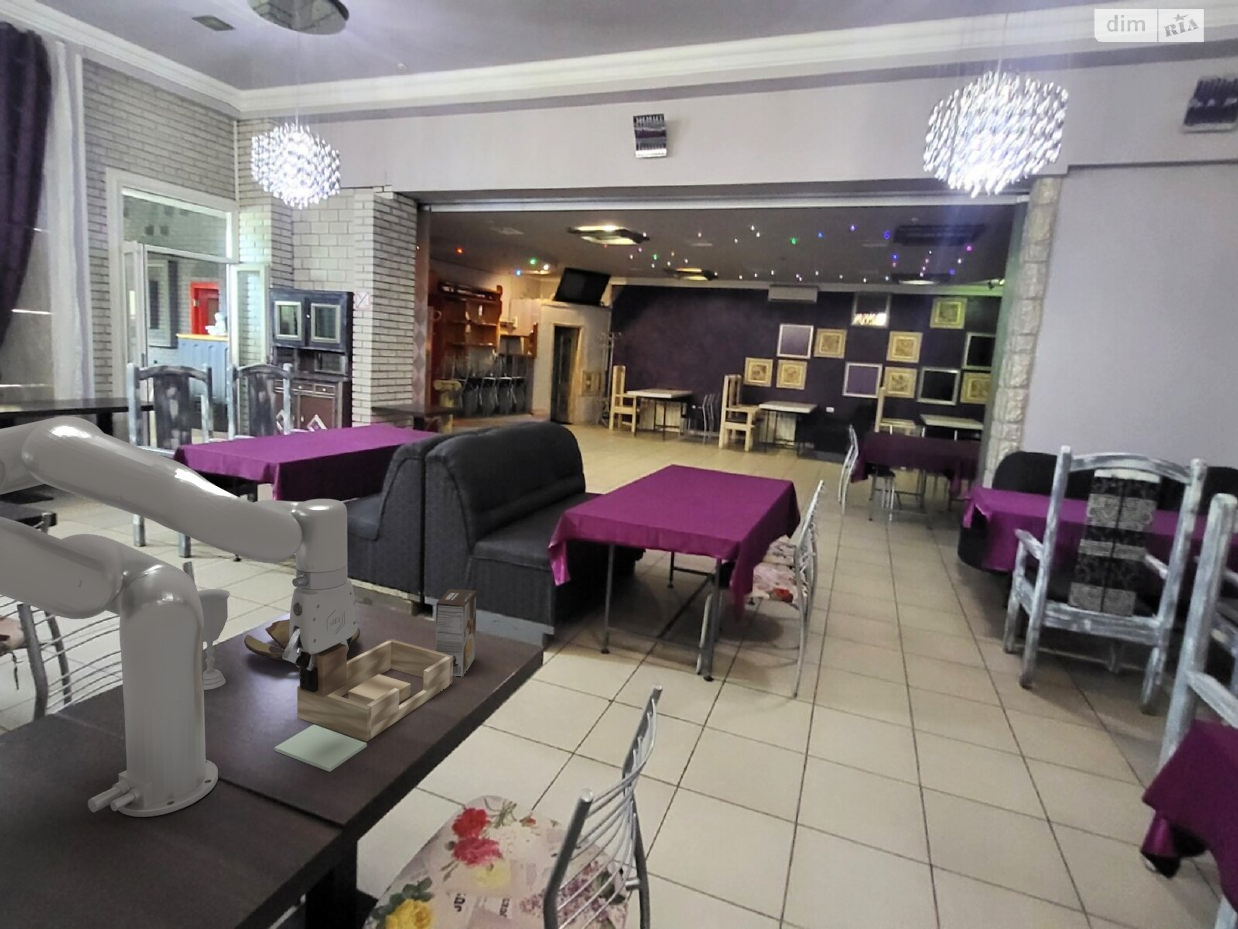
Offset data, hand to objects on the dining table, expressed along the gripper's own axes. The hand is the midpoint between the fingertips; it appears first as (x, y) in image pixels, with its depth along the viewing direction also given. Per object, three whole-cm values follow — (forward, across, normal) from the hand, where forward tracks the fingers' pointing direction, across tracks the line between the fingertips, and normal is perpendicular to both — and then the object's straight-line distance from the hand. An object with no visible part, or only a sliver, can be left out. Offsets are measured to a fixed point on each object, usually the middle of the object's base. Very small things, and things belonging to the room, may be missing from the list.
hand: (323, 681), depth 108 cm
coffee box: (+13, +35, -1) cm, 37 cm away
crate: (+12, +17, +3) cm, 21 cm away
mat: (+12, 0, 0) cm, 12 cm away
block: (+1, 0, 0) cm, 1 cm away
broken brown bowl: (+12, +27, +31) cm, 43 cm away
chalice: (+12, +6, +35) cm, 38 cm away
